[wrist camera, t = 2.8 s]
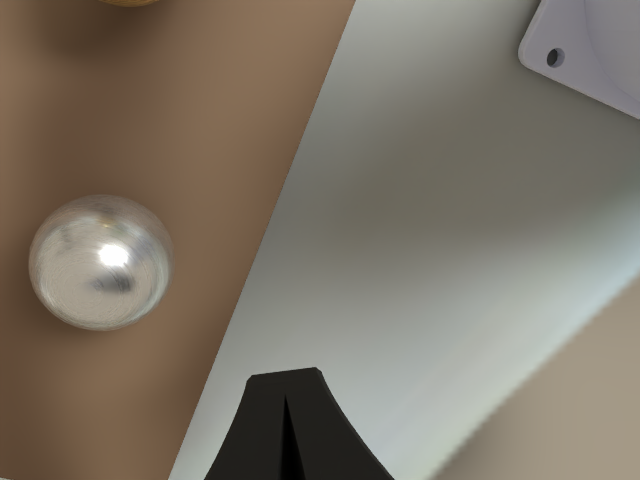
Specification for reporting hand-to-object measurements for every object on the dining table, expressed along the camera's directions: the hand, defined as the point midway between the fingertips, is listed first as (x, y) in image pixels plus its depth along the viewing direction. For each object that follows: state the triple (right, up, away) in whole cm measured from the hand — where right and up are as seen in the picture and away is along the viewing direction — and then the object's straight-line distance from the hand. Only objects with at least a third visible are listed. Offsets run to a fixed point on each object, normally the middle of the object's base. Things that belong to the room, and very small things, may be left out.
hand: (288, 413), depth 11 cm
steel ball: (-4, +3, +2) cm, 6 cm away
